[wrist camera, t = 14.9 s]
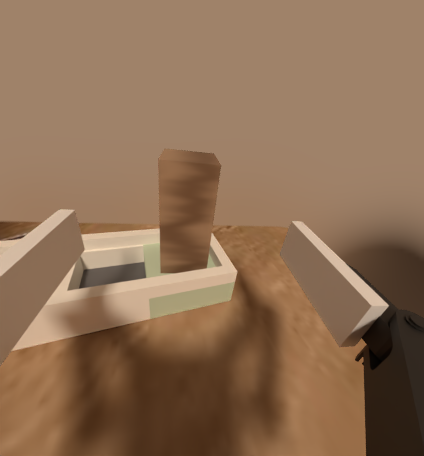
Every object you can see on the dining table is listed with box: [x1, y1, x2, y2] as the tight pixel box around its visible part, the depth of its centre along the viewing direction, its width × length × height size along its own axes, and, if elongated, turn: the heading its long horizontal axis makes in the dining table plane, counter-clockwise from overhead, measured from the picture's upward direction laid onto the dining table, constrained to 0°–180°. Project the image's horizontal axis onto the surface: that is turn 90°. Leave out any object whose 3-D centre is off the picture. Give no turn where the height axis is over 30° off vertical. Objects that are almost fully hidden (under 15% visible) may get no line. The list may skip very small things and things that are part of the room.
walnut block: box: [158, 149, 221, 273], centre depth 21 cm, size 5×5×12 cm
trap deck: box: [0, 229, 237, 351], centre depth 20 cm, size 36×10×4 cm, turn 110°
